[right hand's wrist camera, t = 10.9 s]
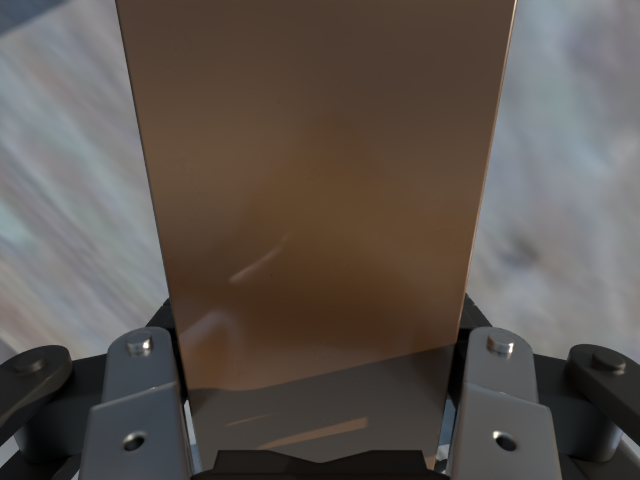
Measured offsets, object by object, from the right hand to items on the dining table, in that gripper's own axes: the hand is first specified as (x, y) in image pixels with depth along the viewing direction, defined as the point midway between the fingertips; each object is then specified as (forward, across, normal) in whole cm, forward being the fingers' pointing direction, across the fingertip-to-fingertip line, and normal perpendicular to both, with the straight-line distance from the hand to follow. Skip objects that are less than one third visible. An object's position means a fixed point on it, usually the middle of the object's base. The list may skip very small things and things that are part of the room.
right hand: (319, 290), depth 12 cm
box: (+7, 0, +7) cm, 10 cm away
